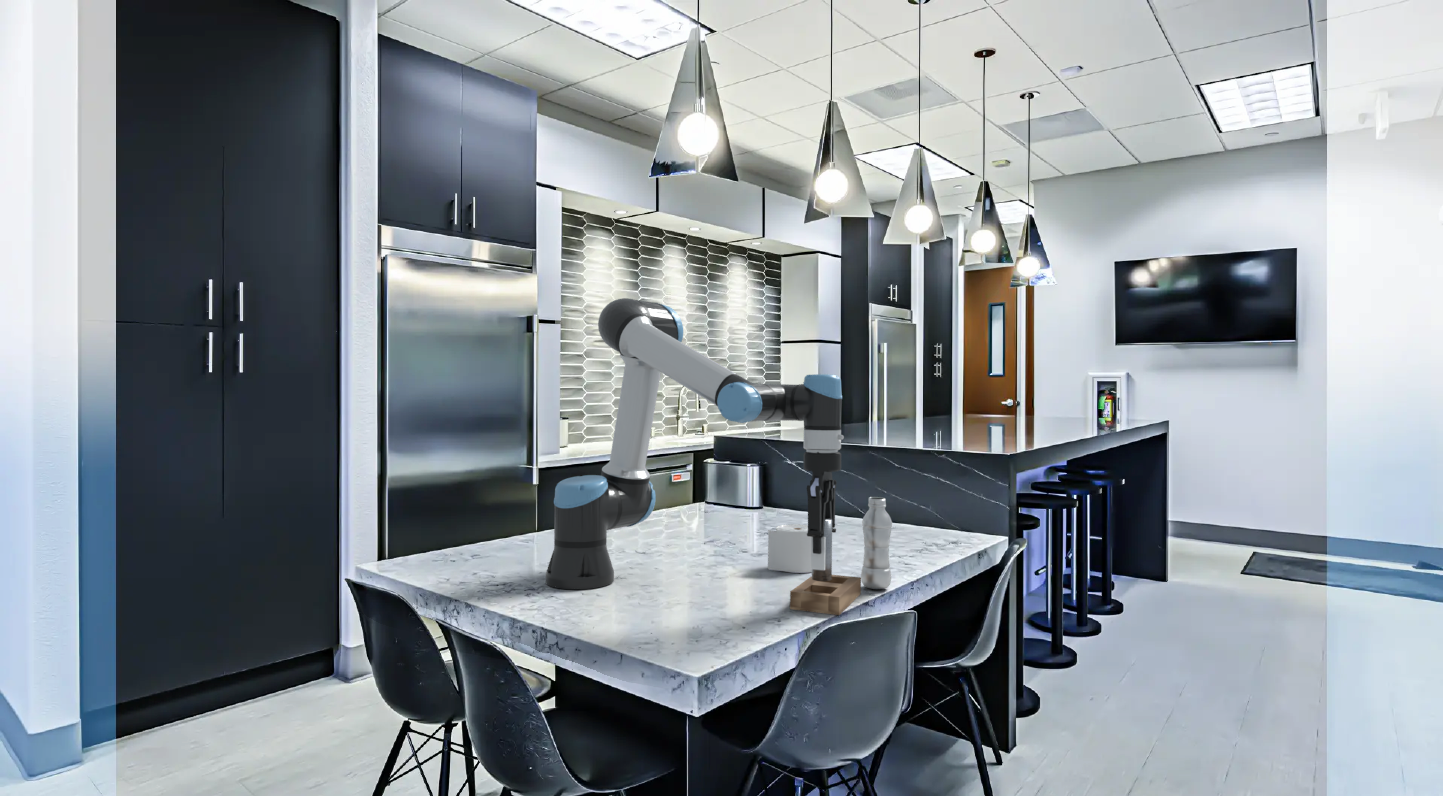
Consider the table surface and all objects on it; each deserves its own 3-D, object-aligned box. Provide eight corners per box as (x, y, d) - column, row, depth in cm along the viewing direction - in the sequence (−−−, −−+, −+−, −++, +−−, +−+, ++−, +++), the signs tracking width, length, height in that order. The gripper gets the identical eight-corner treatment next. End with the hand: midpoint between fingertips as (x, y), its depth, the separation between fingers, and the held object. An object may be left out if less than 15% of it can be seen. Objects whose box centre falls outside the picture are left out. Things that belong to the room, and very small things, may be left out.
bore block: (790, 609, 155) (790, 591, 155) (815, 588, 171) (816, 572, 171) (839, 615, 151) (839, 597, 151) (860, 593, 167) (860, 577, 167)
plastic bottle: (871, 583, 176) (872, 495, 176) (897, 589, 172) (898, 498, 172) (854, 588, 172) (855, 497, 172) (880, 594, 167) (881, 501, 167)
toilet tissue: (826, 567, 193) (826, 527, 193) (805, 576, 183) (806, 534, 183) (787, 562, 199) (787, 523, 198) (765, 571, 188) (765, 529, 188)
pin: (809, 580, 156) (809, 520, 156) (814, 575, 159) (815, 517, 159) (828, 582, 154) (829, 521, 154) (833, 577, 158) (834, 518, 158)
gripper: (829, 454, 147) (828, 577, 147) (850, 449, 163) (850, 560, 163) (791, 452, 150) (790, 573, 150) (816, 447, 166) (815, 557, 166)
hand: (821, 566), depth 157 cm, fingers closed on pin, 4 cm apart
